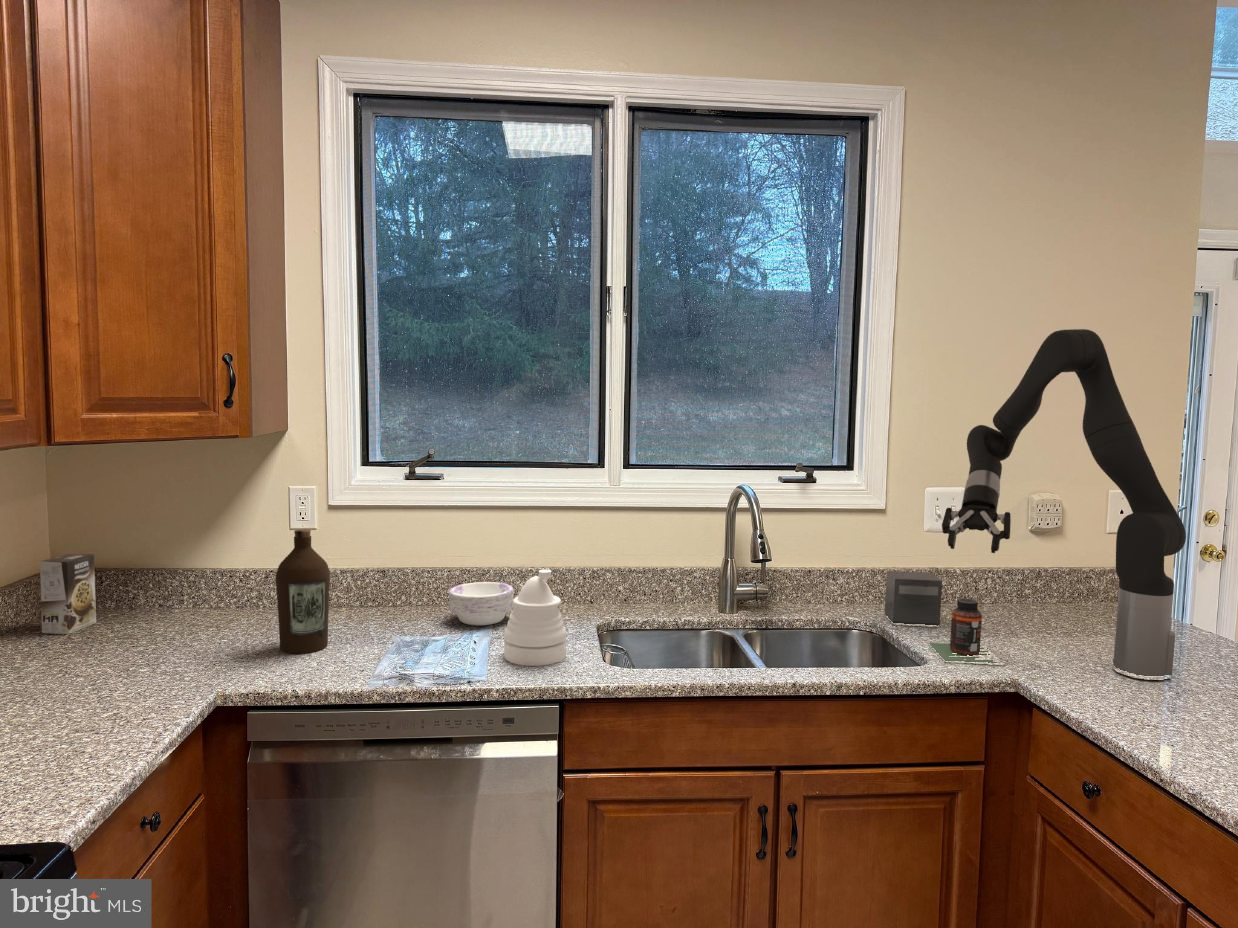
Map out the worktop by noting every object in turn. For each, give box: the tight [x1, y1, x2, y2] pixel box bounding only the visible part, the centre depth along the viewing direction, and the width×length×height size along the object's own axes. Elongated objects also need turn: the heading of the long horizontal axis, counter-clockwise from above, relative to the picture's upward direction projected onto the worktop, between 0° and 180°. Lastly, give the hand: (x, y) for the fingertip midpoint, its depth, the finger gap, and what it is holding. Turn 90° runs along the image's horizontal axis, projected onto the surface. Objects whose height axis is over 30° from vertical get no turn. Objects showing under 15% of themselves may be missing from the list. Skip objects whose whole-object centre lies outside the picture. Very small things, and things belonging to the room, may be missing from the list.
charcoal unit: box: [884, 570, 943, 627], centre depth 198 cm, size 11×10×12 cm
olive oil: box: [275, 528, 331, 655], centre depth 168 cm, size 11×11×25 cm
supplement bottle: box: [949, 598, 983, 656], centre depth 172 cm, size 6×6×11 cm
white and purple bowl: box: [448, 581, 515, 627], centre depth 191 cm, size 15×15×8 cm
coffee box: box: [39, 553, 97, 635], centre depth 179 cm, size 9×6×16 cm
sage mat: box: [928, 642, 997, 663], centre depth 173 cm, size 12×12×1 cm
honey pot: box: [503, 569, 567, 667], centre depth 166 cm, size 13×13×18 cm
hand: (972, 548), depth 181 cm, fingers open, 8 cm apart
